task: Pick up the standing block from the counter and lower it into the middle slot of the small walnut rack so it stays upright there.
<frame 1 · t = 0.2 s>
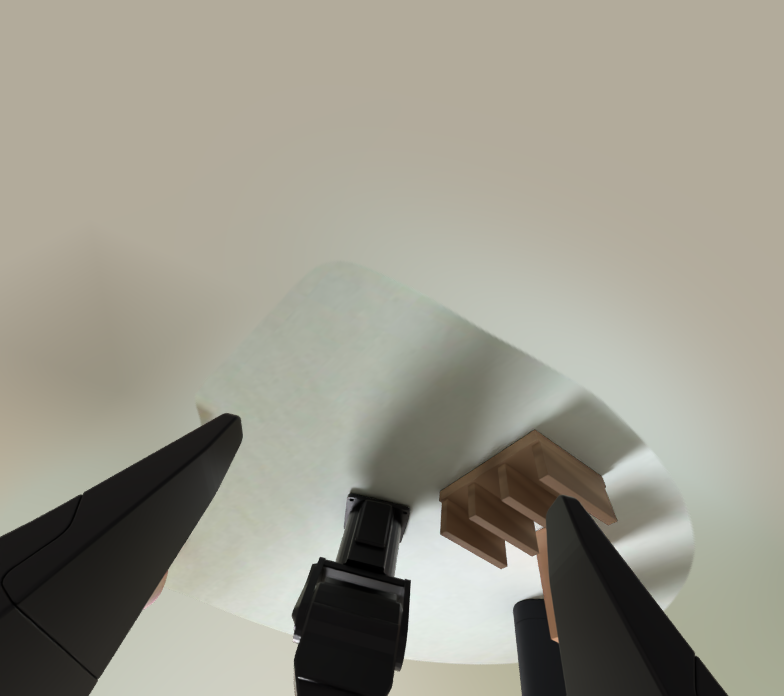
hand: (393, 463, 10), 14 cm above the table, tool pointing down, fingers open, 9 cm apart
rack: (514, 484, 31), on the table
wine bottle: (540, 609, 43), on the table
block: (562, 543, 34), on the table
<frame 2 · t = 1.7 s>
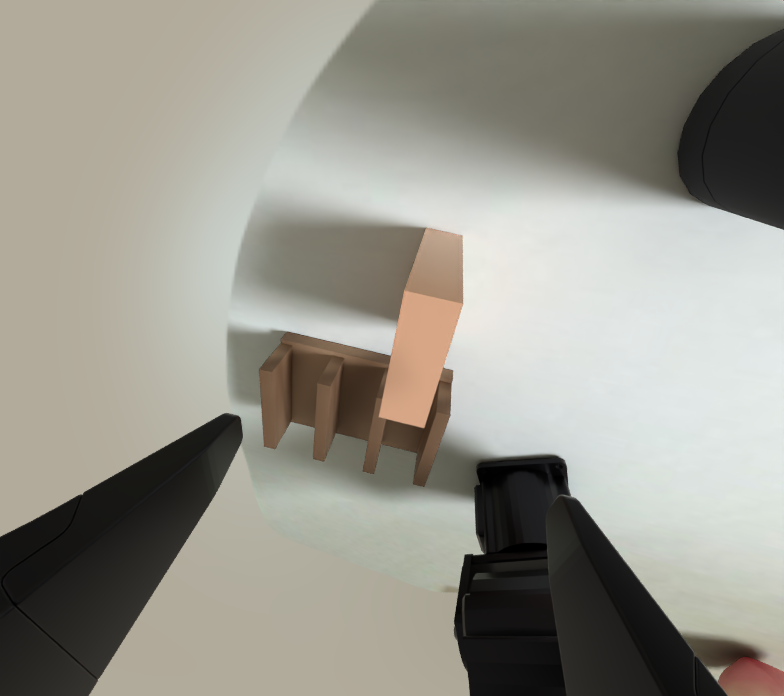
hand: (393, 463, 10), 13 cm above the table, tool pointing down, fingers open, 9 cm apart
rack: (362, 392, 26), on the table
decorative fruit: (743, 655, 37), on the table
wine bottle: (765, 125, 14), on the table
block: (431, 283, 20), on the table
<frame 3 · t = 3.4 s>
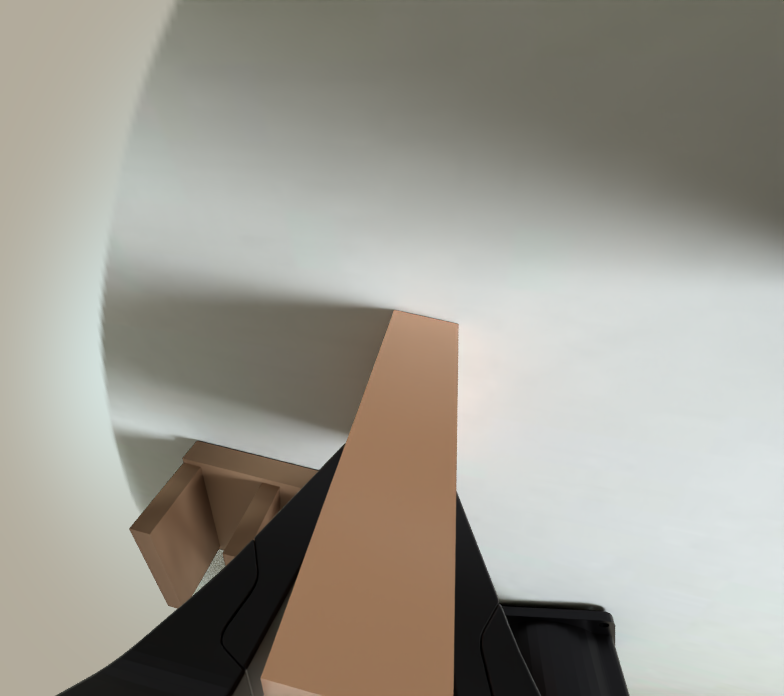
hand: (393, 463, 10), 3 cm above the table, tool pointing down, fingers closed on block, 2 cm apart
rack: (316, 517, 18), on the table
block: (408, 390, 12), on the table, touching gripper
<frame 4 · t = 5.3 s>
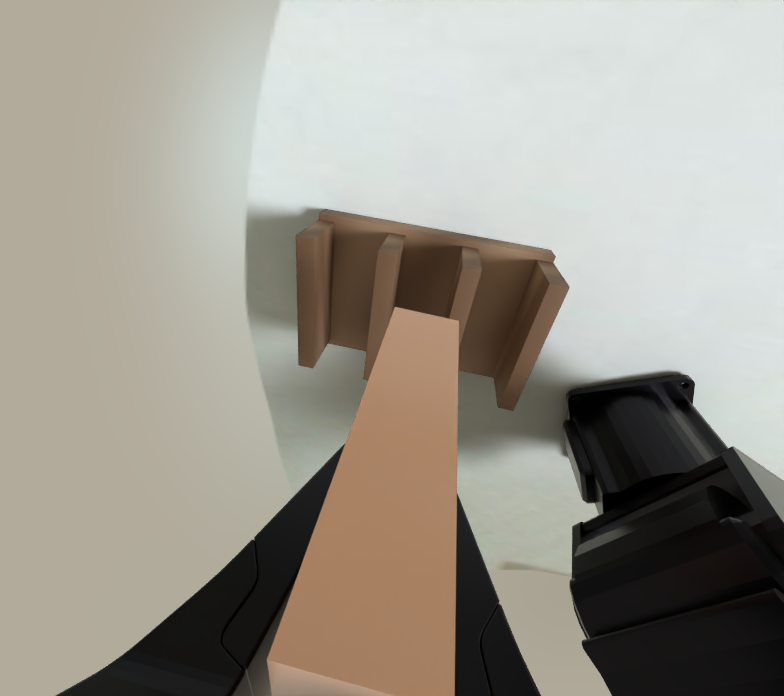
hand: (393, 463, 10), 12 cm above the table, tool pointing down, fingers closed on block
rack: (422, 296, 20), on the table
block: (408, 387, 12), point 9 cm above the table, touching gripper
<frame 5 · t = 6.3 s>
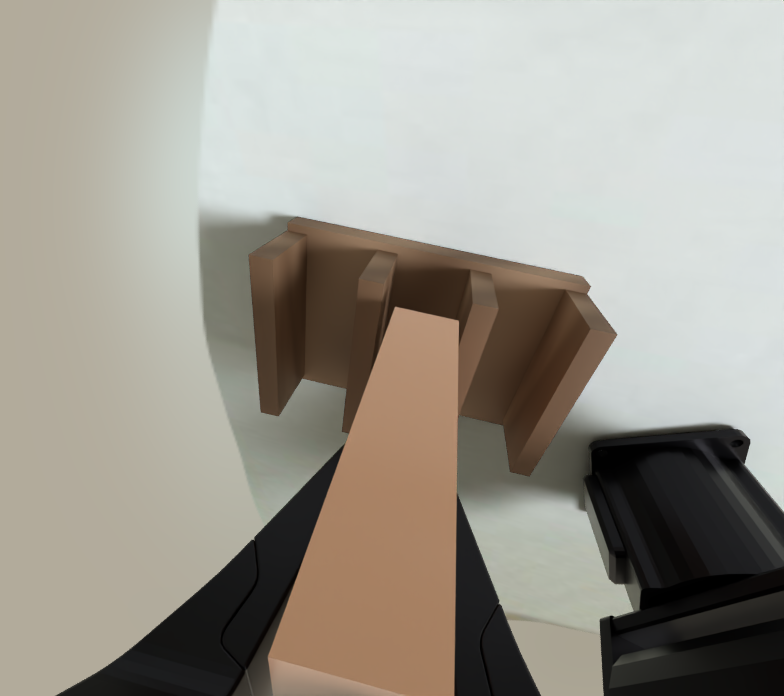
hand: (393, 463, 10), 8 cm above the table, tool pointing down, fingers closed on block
rack: (418, 326, 16), on the table
block: (408, 387, 12), point 4 cm above the table, touching gripper
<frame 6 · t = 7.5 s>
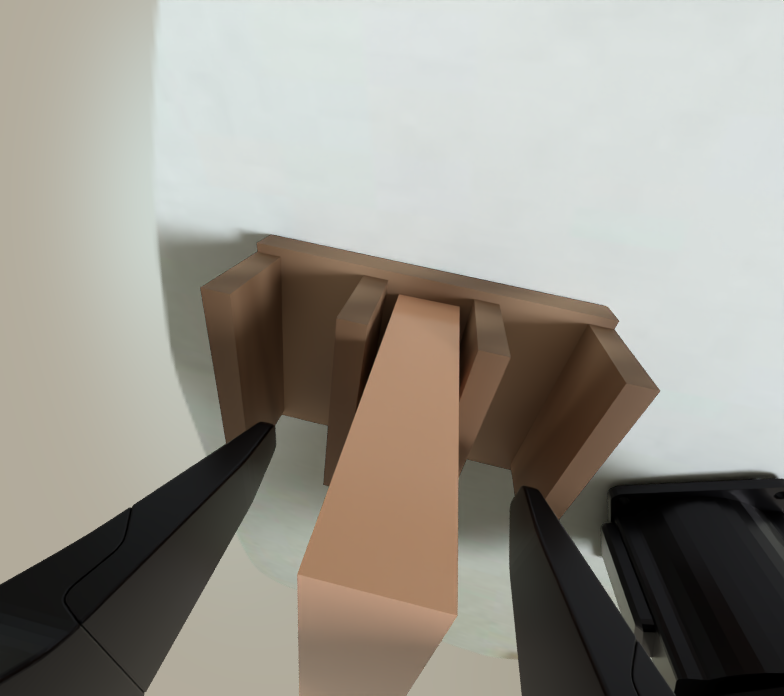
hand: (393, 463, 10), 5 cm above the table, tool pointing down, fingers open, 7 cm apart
rack: (413, 359, 14), on the table
block: (412, 372, 13), point 1 cm above the table, touching rack
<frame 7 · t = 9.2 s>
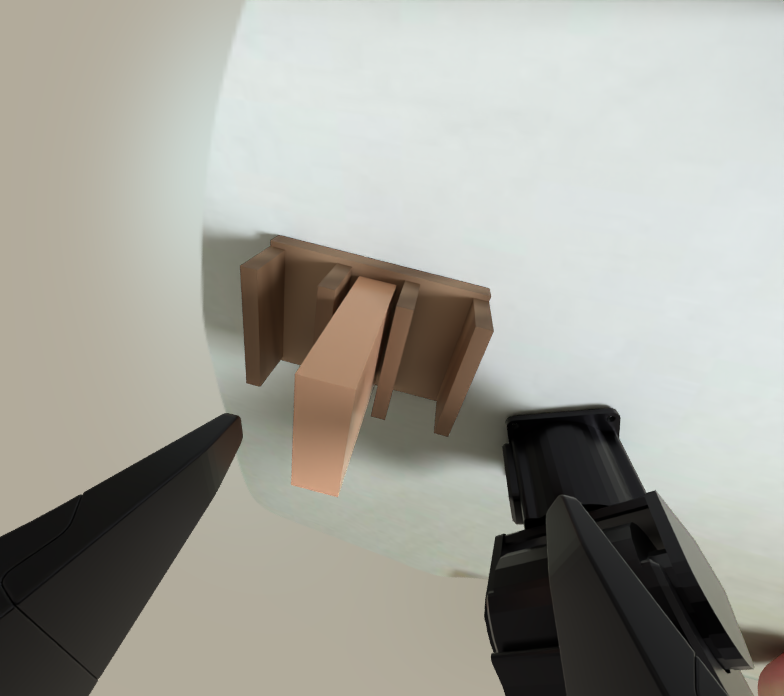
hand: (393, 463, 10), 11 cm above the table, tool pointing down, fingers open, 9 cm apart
rack: (371, 322, 21), on the table
block: (369, 328, 20), point 1 cm above the table, touching rack
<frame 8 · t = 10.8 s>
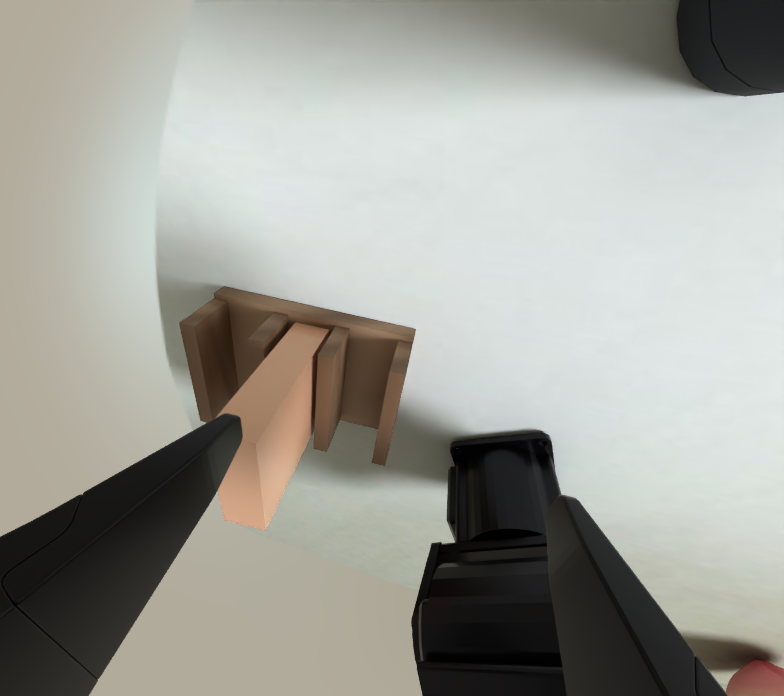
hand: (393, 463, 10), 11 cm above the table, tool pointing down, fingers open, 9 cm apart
rack: (316, 359, 22), on the table
decorative fruit: (754, 658, 33), on the table
block: (311, 367, 21), point 1 cm above the table, touching rack
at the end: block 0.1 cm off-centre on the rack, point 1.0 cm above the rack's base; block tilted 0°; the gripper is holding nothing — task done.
